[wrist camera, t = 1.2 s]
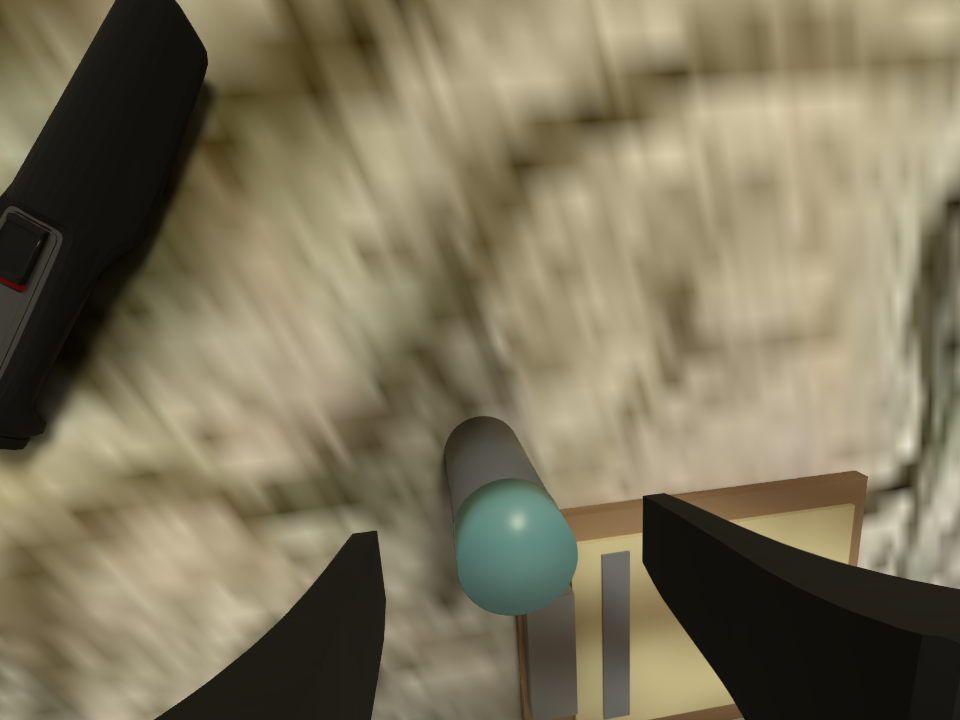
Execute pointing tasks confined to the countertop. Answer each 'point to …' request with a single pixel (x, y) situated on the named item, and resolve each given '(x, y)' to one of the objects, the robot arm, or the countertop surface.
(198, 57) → the electric trimmer
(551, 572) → the marker
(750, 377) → the countertop surface
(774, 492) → the clipboard
